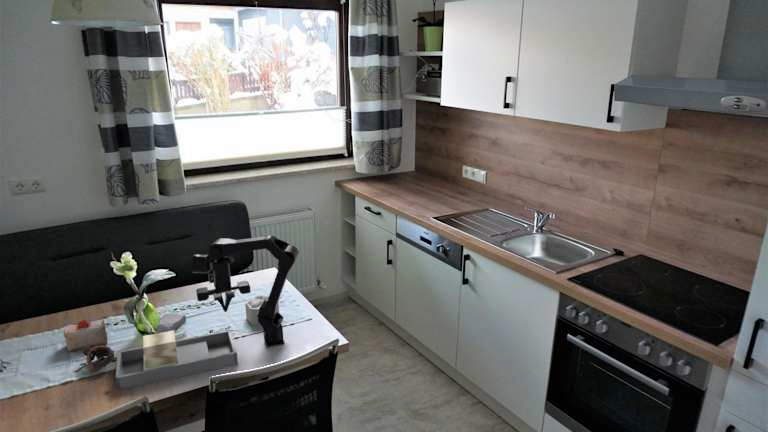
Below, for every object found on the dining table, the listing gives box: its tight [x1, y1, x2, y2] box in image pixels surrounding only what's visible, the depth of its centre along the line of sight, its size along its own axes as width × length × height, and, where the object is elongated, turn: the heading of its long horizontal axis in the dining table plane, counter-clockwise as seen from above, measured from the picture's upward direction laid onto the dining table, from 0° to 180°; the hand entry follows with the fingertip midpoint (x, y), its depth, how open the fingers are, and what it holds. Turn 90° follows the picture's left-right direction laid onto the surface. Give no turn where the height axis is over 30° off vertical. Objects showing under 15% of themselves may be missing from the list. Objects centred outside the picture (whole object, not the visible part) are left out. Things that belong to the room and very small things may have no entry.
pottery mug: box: [82, 345, 115, 373], centre depth 179 cm, size 12×10×8 cm
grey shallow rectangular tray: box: [115, 329, 239, 391], centre depth 180 cm, size 38×17×4 cm, turn 114°
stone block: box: [156, 312, 187, 334], centre depth 205 cm, size 12×5×10 cm
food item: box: [62, 318, 109, 353], centre depth 190 cm, size 14×8×10 cm, turn 116°
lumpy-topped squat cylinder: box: [245, 294, 280, 326], centre depth 211 cm, size 10×13×9 cm
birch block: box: [142, 330, 178, 369], centre depth 177 cm, size 10×8×8 cm
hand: (225, 311), depth 192 cm, fingers closed
